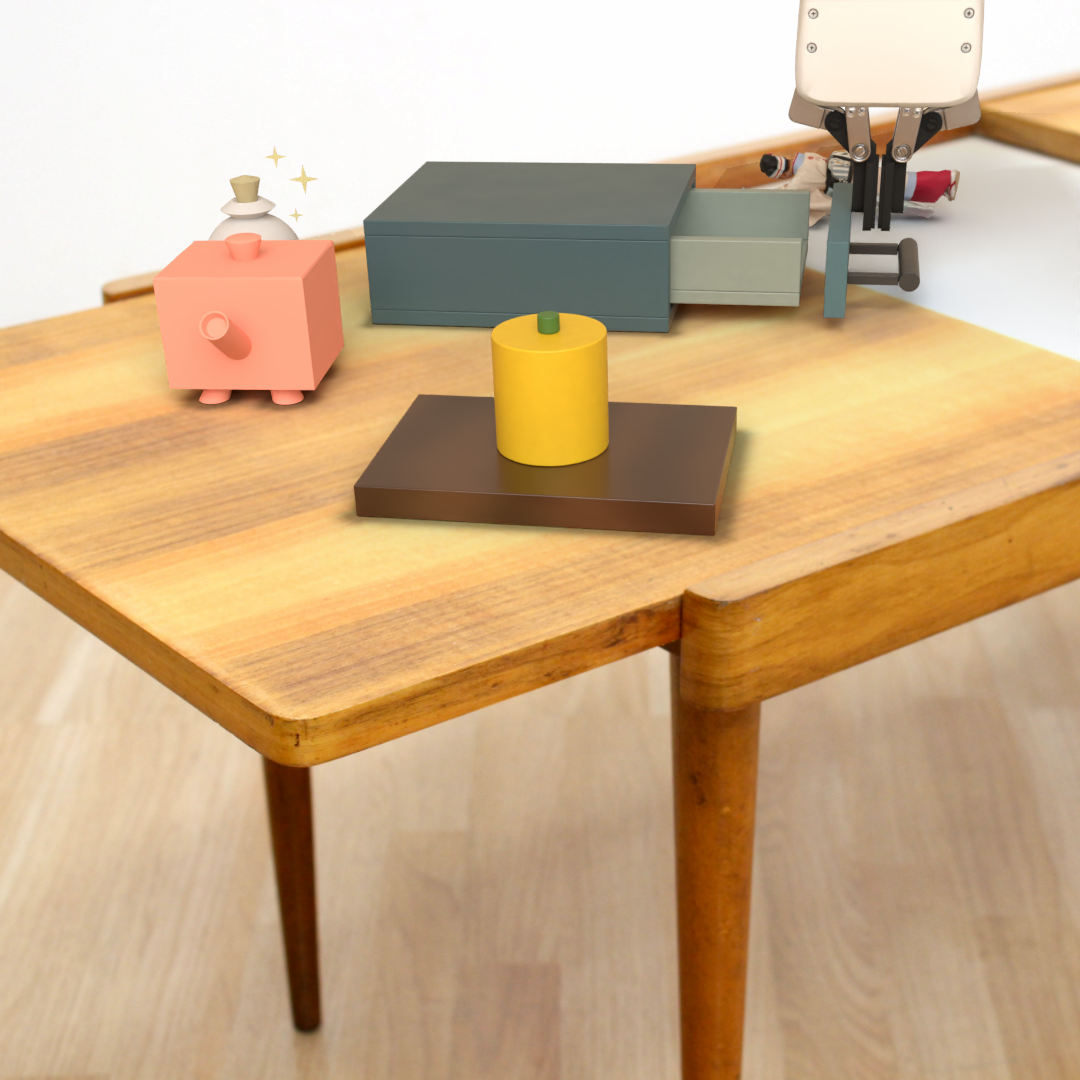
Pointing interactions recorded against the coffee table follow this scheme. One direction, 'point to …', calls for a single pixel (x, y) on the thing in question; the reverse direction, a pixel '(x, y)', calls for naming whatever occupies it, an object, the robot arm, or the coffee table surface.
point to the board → (554, 470)
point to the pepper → (550, 388)
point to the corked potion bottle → (255, 210)
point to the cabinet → (527, 243)
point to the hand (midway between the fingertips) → (876, 224)
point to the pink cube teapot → (250, 316)
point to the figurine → (840, 168)
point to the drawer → (770, 249)
